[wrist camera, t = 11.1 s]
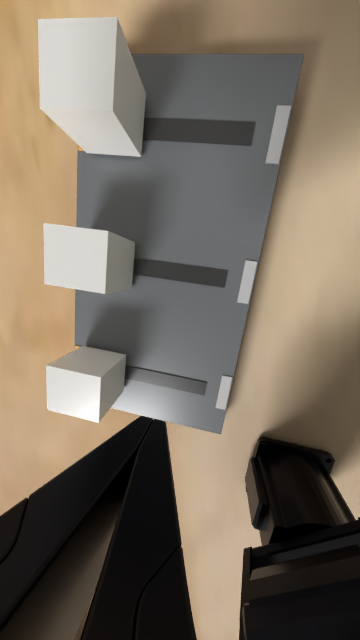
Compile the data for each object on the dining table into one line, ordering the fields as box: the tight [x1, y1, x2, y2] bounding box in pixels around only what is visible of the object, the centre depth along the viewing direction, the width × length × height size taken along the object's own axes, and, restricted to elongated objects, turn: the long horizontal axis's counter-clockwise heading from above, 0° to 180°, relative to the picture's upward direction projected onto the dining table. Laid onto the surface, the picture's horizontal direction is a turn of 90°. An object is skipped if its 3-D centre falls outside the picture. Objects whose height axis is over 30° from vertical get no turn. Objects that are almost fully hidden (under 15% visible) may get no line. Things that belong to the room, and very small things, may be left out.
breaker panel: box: [75, 54, 304, 434], centre depth 16 cm, size 14×26×2 cm, turn 172°
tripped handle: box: [38, 17, 146, 157], centre depth 12 cm, size 4×4×4 cm
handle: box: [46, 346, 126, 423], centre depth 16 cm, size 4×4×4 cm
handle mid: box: [44, 223, 135, 294], centre depth 14 cm, size 4×4×4 cm
